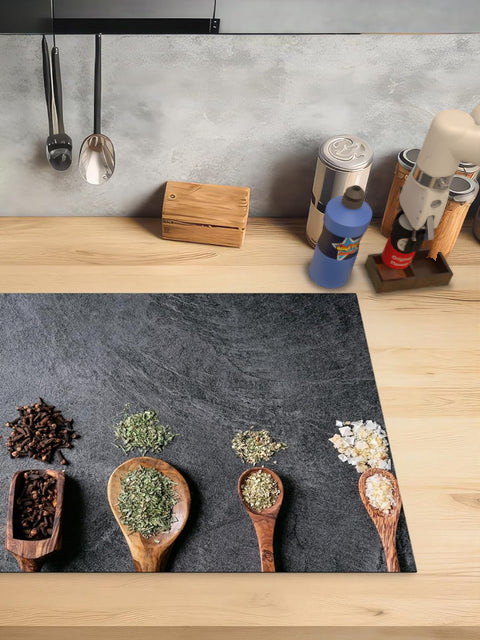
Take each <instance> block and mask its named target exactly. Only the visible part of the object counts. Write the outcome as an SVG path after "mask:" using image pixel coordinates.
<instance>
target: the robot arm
mask: <svg viewBox="0 0 480 640" xmlns="http://www.w3.org/2000/svg"><path fill="white" fill-rule="evenodd" d="M462 161H463V162H465V163H468V164H470V165H474V166H476V167H478V168H479V167H480V102H479V103H478V104H476V106H475V107H474V108H473V109H472V110H471V112H470V114H469V113H467V112H466V111H464V110H462V109H457V108H447V109H442V110H441V111H439V112H437V114H435V116H434V117H433V119H432V120H431V122H430V125H429V127H428V131H427V132H426V135H425V138H424V140H423V143H422V145H421V147H420V150H419V153H418V154H417V158H416V161H415V162H414V166H413V167H412V169H411V171H410V172H409V174H408V176H407V177H406V179H405V182H404V184H403V185H401V186H399V189H398V191H399V197H398V206H397V207H396V213H395V217H394V219H393V222H392V223H391V224H392V225H391V228H392V227H393V225H394V223H395V221H396V220H397V219H399V218H400V216H401V215H403V214H406V216H407V218H408V220H409V222H410V224H411V225H412V227H413V231H412V237H409V239H408V241H407V243H406V246H405V248H404V252H405V253H407V252H416V251H419V250H420V249H421V247H422V245H423V243H424V241H433V240H435V229H437V228H438V226H439V224H440V222H441V220H442V217H443V214H444V212H445V209H446V207H447V203H448V200H449V196H450V190H451V188H450V185H451V183H452V181H453V179H454V176H455V175H456V172H457V170H458V169H459V166H460V164H461V162H462ZM419 229H423V232H422V234H419V235H417V233H418V230H419Z"/></svg>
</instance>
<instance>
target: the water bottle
mask: <svg viewBox="0 0 480 640" xmlns="http://www.w3.org/2000/svg"><path fill="white" fill-rule="evenodd" d="M365 196H366V192H365V190H364V188H362V187H361V186H360V185H357V184H355V185H351V186H348V187H346V188H345V191H344V192H343V194H342V195H338V196H335V197H333V198H331V199H330V200H329V201H328V202H327V204H326V206H325V209H324V213H323V218H322V230H321V233H320V235H319V237H318V239H317V241H316V243H315V247H314V249H313V253H312V254H313V255H312V257H311V261H310V264H309V267H308V275H309V277H310V279H311V281H312V282H313V283H315V285H317V286H319V287H322V288H325V289H331V290H335V289H338V288H342V287H344V286H345V285H346V284H347V283H348V281H349V279H350V277H351V274H352V271H353V268H354V266H355V262H356V260H357V258H358V254H359V250H360V245H361V244H360V243H361V241H362V239H363V237H364V235H365V233H366V232H367V230H368V229H369V226H370V223H371V220H372V218H373V210H372V208H371V206H370V205H369V204H368V203H367V202H366V201H365Z"/></svg>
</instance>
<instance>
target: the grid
mask: <svg viewBox="0 0 480 640" xmlns="http://www.w3.org/2000/svg"><path fill="white" fill-rule="evenodd" d="M428 248H429V247H424V248H423V247H422V248H420V250H419V251H416V252H415V254H414V257H413V259H412V261H411V263H410V265H409V266H408V267H406V268H404V269H392V268H390V267H388V266H387V265H386V264H385V263H384V262H383V260H382V252H378V253H370V254H368V255H367V256H366V259H365V262H364V268H365V270H366V272H367V275H368V277H369V279H370V281H371V283H372V286H373V288H374V291H375V292H376V294H382V293H384V294H385V293H392V292H399V291H400V292H401V291H409V290H419V289H426V288H427V289H428V288H435V287H443V286H449V284H450V282H451V280H452V278H453V277H454V272H453V271H452V268H451V267H450V265H449V263H448V262H447V260H446V257H445V256H444V254H443V252H442V251H441V252H438V254H437V258H436V261H435V260H434V259H433V258H430V257H429V258H426V257H427V256H428V253H429V251H430V250H429V249H428Z"/></svg>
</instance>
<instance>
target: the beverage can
mask: <svg viewBox="0 0 480 640" xmlns="http://www.w3.org/2000/svg"><path fill="white" fill-rule="evenodd" d="M412 231H413V227H412V225H411V224H410V222H409V220H408V218H407V216H406V214H403V215H401V216H400V218H399V219H397V220H396V221H395V223H394V225H393V227H392V226H391V230H390V233H389V235H388V238H387V240H386V243H385V244H384V247H383V250H382V251H381V253H382V260H383V262H384V263H385V264H386V265H387V266H388V267H390V268H392V269H404V268H406V267H408V266H409V265H410V263H411V261H412V259H413V257H414V254H415V252H407V253H405V252H404V248H405V246H406V243H407V241H408V239H409V237H412ZM422 232H423V229H419V230H418V233H417V235H419V234H422Z"/></svg>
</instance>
